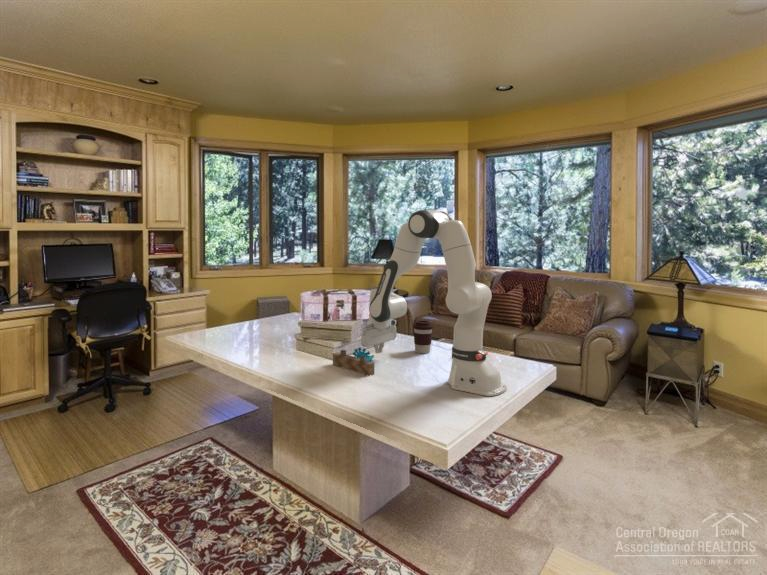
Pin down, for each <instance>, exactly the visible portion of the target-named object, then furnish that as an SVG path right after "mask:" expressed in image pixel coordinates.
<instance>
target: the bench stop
mask: <svg viewBox="0 0 767 575" xmlns="http://www.w3.org/2000/svg"><path fill="white" fill-rule="evenodd" d="M335 365H336V367H338V366H339V368H342V367H343V368H342V369H345V368H346V370H348V369H349V371H351V370H352V372H355V373H358V374H360V375H361V374H362V375H364V376H367V375H368V376H369V377H371V376H373V375H375V362H374V361H373V362H371V361H367V360H366V356H365V355H361V356H360V358H357V357H354V355H349V354H347V349H340V351H339V352H334V353H332V366H335ZM370 375H371V376H370Z"/></svg>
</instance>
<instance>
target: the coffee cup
mask: <svg viewBox="0 0 767 575" xmlns="http://www.w3.org/2000/svg"><path fill="white" fill-rule="evenodd" d="M412 328H413V343H414V351H415V353H417V354H424V355H425V354H429V353H430V352H431V346H432V340H433V339H432V338H433V330H434V324H432V323H431V321H430V320H416V321H415V323H413V324H412Z"/></svg>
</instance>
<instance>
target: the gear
mask: <svg viewBox="0 0 767 575" xmlns="http://www.w3.org/2000/svg"><path fill="white" fill-rule="evenodd" d="M366 351H367V349H366V348H363V349H362V347H358V348H355V349H354V351H353V353H352V356H353V357H357V358H360V356H361V355H365V356H366V360H367V361H371V362H374V360H373V359H374V357H375V355H374V354H372V355H371V352H370V351H369V350H368V351H367V352H366Z"/></svg>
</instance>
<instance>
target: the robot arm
mask: <svg viewBox="0 0 767 575" xmlns="http://www.w3.org/2000/svg"><path fill="white" fill-rule="evenodd" d="M427 239H431V240H432V239H437V240H438V241H439V243H440V247H441V251H442V254H443V259H444V262H445V267H446V272H447V285H448V286H447V294H446V297H445V306H446V308H447V309H448V310H449V311H450V312H451V313H453V314H456V315H457V316H458V317H457V319H456V322H455V324H454V326H453V342H452V347H451V359H452V360H451V367H450V373H449V376H448V379H447V383H448V385H449V386H450V389H452V390H456V391H460V392H461V391H462V392H467V393H471V394H476V395H481V396H486V397H495V396H498V395H501V394H503V393H505V392H506V391H507V390H508V386H507V384H506V383H502V377H501V373H500V371H499V370H498V369H497V368H496V366H494V365H493V364H492V363H491V362H490V361H489V360H488V359H487V355H489V351H485V350H484V348H483V344H484V343H483V339H484V327H485V323H486V318H487V314H488V309H489V304H490V303H491V301H492V297H493V296H492V290H491V288H490V287H489V286H488V285H486V284H485V283H481V282H478V281H476V274H475V273H476V267H477V264H476V263H477V262H476V258H475V255H474V250H473V246H472V244H471V240H470V237H469V234H468V231H467V229H466V227H465V225H464V223H463V222H462V221H461V220H457V219H453V217H452V216H451V215H450V214H448V213H447V212H445V211H442V210H441V211H439V210H434V209H421V210H417V211H415V212H413V213H412V214H410V216H409V219H408V222H405V223H403V224H402V225H401V227H400V229H399V232H398V234H397V237H396V240H395V244H394V248H393V252H392V254H391V256H390V258H389V261H388V262H387V263H386V264H385V266H384V269H383V270H382V273H381V276H380V279H379V283H378V285H377V286H376V287H373V288H371V290H370V293H369V303H368V304H369V306H368V308H369V309H368V312H369V318H368V319H369V320H368V322H369V324H366V325H364V327H362V332H361V337H360V338H361V339H360V345H361V346H362V347H364V348H365V347H366V348H369V347H372V346H373V347H374V350H375V354H381V353H383V349H384V346H385V343H387V342H392V341H395V340H396V338H397V320H396V319H398V318H401V317H403V316H405V315H406V314H407V312H408V308H409V306H408V301H407V300H406V298H405V297H404V296H402V295H398V294H397V293H395V292H393V290H394V287H395V283H396V282H397V281H398V279H400V278H401V276H402V275H404V274H406V273H408V272H410V271H411V270H413V269H414V268H415V267H416V266H417V265H418V262H419V260H420V257H421V254H422V248H423V245H424V242H425V240H427Z"/></svg>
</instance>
